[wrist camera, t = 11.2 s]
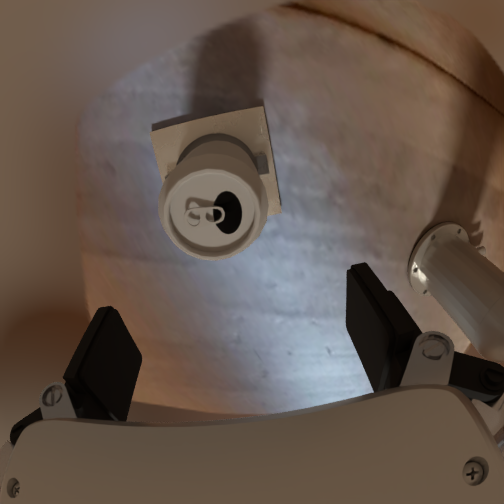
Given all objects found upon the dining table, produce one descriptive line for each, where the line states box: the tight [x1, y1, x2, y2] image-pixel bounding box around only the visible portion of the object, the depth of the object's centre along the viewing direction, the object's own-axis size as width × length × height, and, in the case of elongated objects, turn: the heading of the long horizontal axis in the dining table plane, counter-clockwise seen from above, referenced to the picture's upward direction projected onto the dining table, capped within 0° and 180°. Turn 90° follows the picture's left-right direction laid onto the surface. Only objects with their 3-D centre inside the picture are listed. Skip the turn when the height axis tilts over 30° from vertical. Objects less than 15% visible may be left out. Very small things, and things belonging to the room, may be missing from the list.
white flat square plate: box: [150, 106, 281, 216], centre depth 29 cm, size 12×12×2 cm
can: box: [159, 140, 269, 260], centre depth 23 cm, size 8×8×12 cm
